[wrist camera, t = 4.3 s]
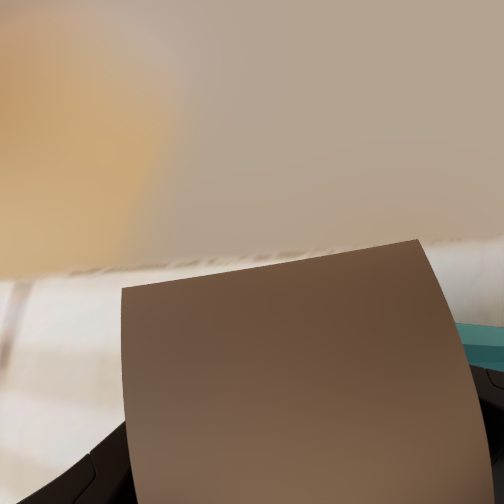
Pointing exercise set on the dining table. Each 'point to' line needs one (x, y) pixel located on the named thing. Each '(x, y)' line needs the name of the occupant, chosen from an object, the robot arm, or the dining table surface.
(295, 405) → the walnut post
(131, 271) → the dining table surface
